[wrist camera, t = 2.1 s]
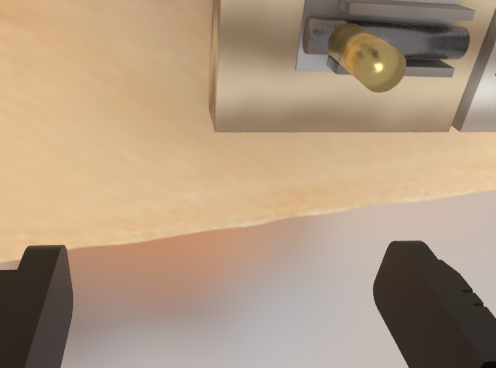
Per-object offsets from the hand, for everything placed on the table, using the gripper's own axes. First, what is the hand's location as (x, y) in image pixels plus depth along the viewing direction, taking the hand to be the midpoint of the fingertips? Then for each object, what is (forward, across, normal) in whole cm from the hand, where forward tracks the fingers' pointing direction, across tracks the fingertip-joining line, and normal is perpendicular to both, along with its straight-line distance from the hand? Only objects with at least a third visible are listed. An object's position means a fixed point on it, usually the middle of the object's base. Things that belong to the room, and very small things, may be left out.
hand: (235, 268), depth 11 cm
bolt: (+18, -11, -2) cm, 21 cm away
